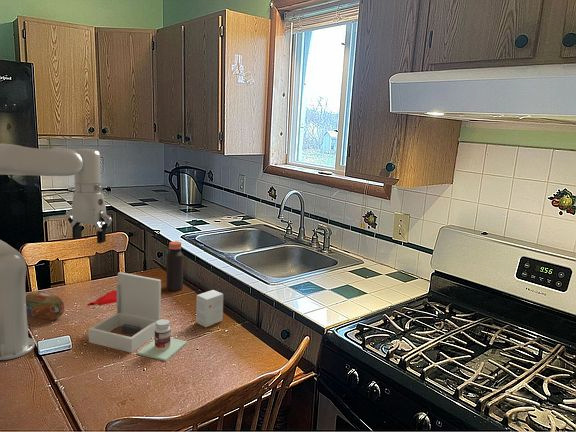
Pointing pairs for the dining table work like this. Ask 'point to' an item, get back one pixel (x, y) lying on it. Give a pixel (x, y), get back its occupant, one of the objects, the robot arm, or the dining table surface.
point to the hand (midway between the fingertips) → (89, 240)
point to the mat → (162, 354)
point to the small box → (209, 308)
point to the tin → (44, 306)
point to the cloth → (106, 298)
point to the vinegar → (174, 267)
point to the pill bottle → (162, 334)
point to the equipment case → (131, 314)
